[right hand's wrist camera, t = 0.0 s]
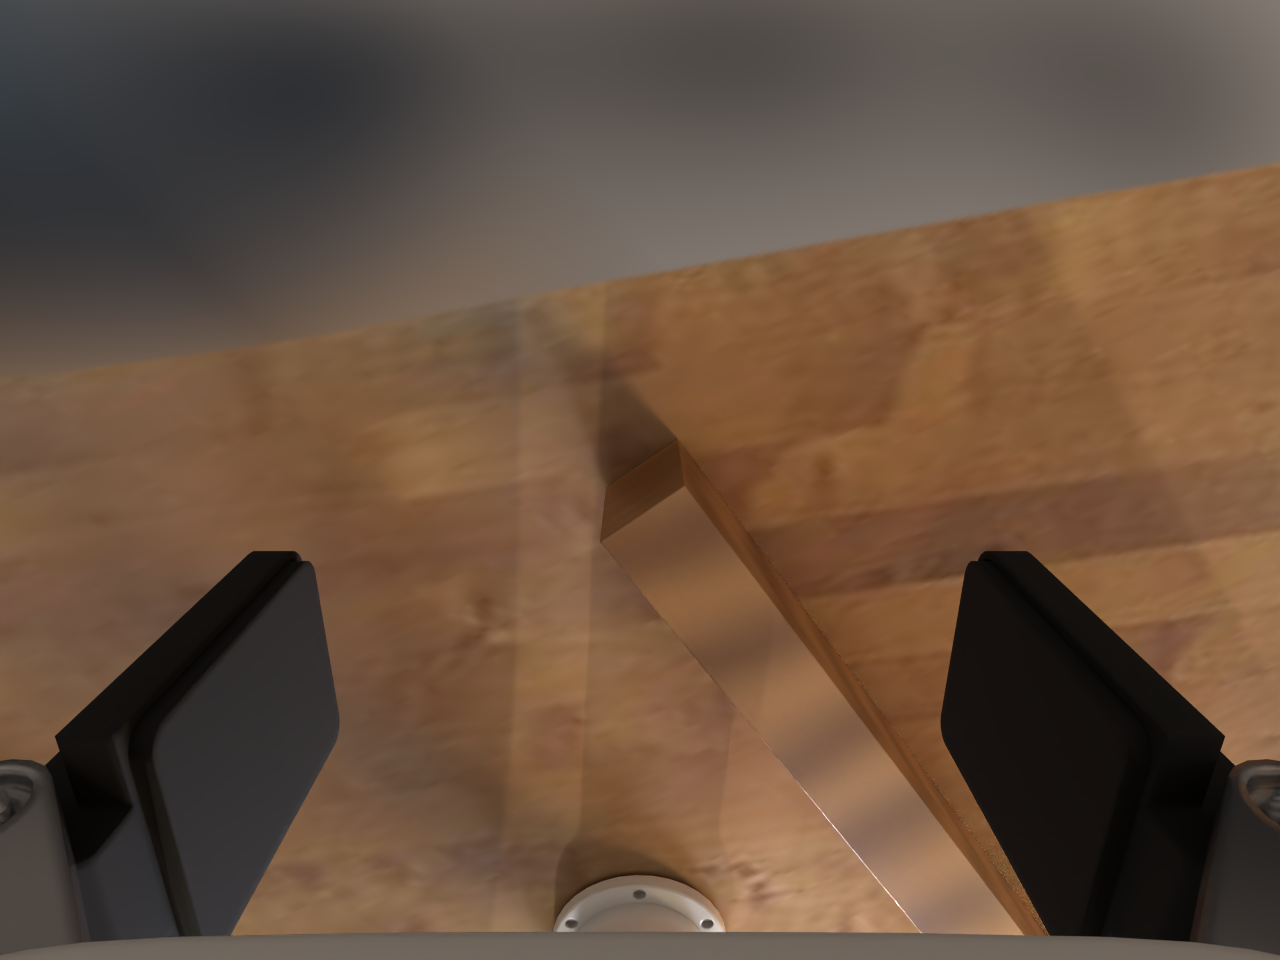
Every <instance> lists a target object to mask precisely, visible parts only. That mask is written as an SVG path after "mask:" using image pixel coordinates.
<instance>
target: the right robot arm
mask: <svg viewBox="0 0 1280 960" xmlns="http://www.w3.org/2000/svg"><path fill="white" fill-rule="evenodd" d="M338 731H339V713H338V707H337V701H336V695H335V689H334V683H333V677H332V671H331V665H330V659H329V653H328V647H327V641H326V635H325V629H324V623H323V617H322V611H321V605H320V599H319V593H318V588H317V582H316V576H315V571H314V567H313V565H312V563H310V562H309V561H302V559H301V557H300V555H299V554H298V553H297V552H295V551H253V552H251V553H250V554H248V555H247V556H246V557H245V558H244V559H243V560H242V561H241V562H240V563H239V564H238V565H237V566H236V567H234V568H233V569H232V570H231V571H230V572H229V573H228V574H227V575H226V576H225V577H224V578H223V579H222V580H221V581H220V582H219V583H217V584H216V585H215V586H214V587H213V588H212V589H211V590H210V591H209V592H208V593H207V594H206V595H205V596H204V597H203V598H201V599H200V600H199V601H198V602H197V603H196V604H195V605H194V606H193V607H192V608H191V609H190V610H189V611H188V612H187V613H186V614H184V615H183V616H182V617H181V618H180V619H179V620H178V621H177V622H176V623H175V624H174V625H173V626H172V627H171V628H170V629H168V630H167V631H166V632H165V633H164V634H163V635H162V636H161V637H160V638H159V639H158V640H157V641H156V642H155V643H154V644H153V645H151V646H150V647H149V648H148V649H147V650H146V651H145V652H144V653H143V654H142V655H141V656H140V657H139V658H138V659H137V660H136V661H134V662H133V663H132V664H131V665H130V666H129V667H128V668H127V669H126V670H125V671H124V672H123V673H122V674H121V675H120V676H118V677H117V678H116V679H115V680H114V681H113V682H112V683H111V684H110V685H109V686H108V687H107V688H106V689H105V690H104V691H103V692H101V693H100V694H99V695H98V696H97V697H96V698H95V699H94V700H93V701H92V702H91V703H90V704H89V705H88V706H87V707H85V708H84V709H83V710H82V711H81V712H80V713H79V714H78V715H77V716H76V717H75V718H74V719H73V720H72V721H71V722H70V723H68V724H67V725H66V726H65V727H64V728H63V729H62V730H61V731H60V732H59V733H58V734H57V735H56V736H55V738H56V741H57V744H58V747H59V750H60V752H59V753H58V754H57V755H55V756H54V757H53V758H52V759H51V760H50V761H49V762H48V763H47V764H46V765H45V766H44V765H42V764H39V763H37V762H34V761H32V760H16V759H11V760H4V761H0V960H1280V761H1276V760H1269V759H1264V760H1248V761H1246V762H1243V763H1241V764H1238V765H1236V766H1235V765H1234V764H1233V763H1232V762H1231V761H1230V760H1229V759H1228V758H1227V757H1226V756H1225V755H1223V754H1222V753H1221V752H1220V750H1221V747H1222V744H1223V741H1224V738H1225V736H1224V735H1223V734H1222V733H1221V732H1220V731H1219V730H1218V729H1217V728H1216V727H1215V726H1214V725H1213V724H1212V723H1210V722H1209V721H1208V720H1207V719H1206V718H1205V717H1204V716H1203V715H1202V714H1201V713H1200V712H1199V711H1198V710H1197V709H1196V708H1195V707H1193V706H1192V705H1191V704H1190V703H1189V702H1188V701H1187V700H1186V699H1185V698H1184V697H1183V696H1182V695H1181V694H1180V693H1179V692H1177V691H1176V690H1175V689H1174V688H1173V687H1172V686H1171V685H1170V684H1169V683H1168V682H1167V681H1166V680H1165V679H1164V678H1163V677H1162V676H1160V675H1159V674H1158V673H1157V672H1156V671H1155V670H1154V669H1153V668H1152V667H1151V666H1150V665H1149V664H1148V663H1147V662H1146V661H1144V660H1143V659H1142V658H1141V657H1140V656H1139V655H1138V654H1137V653H1136V652H1135V651H1134V650H1133V649H1132V648H1131V647H1130V646H1129V645H1127V644H1126V643H1125V642H1124V641H1123V640H1122V639H1121V638H1120V637H1119V636H1118V635H1117V634H1116V633H1115V632H1114V631H1113V630H1112V629H1110V628H1109V627H1108V626H1107V625H1106V624H1105V623H1104V622H1103V621H1102V620H1101V619H1100V618H1099V617H1098V616H1097V615H1096V614H1094V613H1093V612H1092V611H1091V610H1090V609H1089V608H1088V607H1087V606H1086V605H1085V604H1084V603H1083V602H1082V601H1081V600H1080V599H1079V598H1077V597H1076V596H1075V595H1074V594H1073V593H1072V592H1071V591H1070V590H1069V589H1068V588H1067V587H1066V586H1065V585H1064V584H1063V583H1061V582H1060V581H1059V580H1058V579H1057V578H1056V577H1055V576H1054V575H1053V574H1052V573H1051V572H1050V571H1049V570H1048V569H1047V568H1046V567H1044V566H1043V565H1042V564H1041V563H1040V562H1039V561H1038V560H1037V559H1036V558H1035V557H1034V556H1033V555H1032V554H1030V553H1029V552H1027V551H985V552H983V553H982V554H981V555H980V557H979V559H978V561H971V562H970V563H968V565H967V567H966V571H965V576H964V582H963V587H962V593H961V599H960V605H959V611H958V617H957V623H956V629H955V635H954V641H953V647H952V653H951V659H950V665H949V671H948V677H947V683H946V689H945V695H944V701H943V707H942V713H941V731H942V736H943V740H944V742H945V745H946V747H947V748H948V750H949V752H950V754H951V756H952V758H953V759H954V761H955V763H956V765H957V767H958V769H959V770H960V772H961V774H962V776H963V778H964V779H965V781H966V783H967V785H968V787H969V789H970V790H971V792H972V794H973V796H974V798H975V800H976V801H977V803H978V805H979V807H980V809H981V811H982V812H983V814H984V816H985V818H986V820H987V822H988V823H989V825H990V827H991V829H992V831H993V832H994V834H995V836H996V838H997V840H998V842H999V843H1000V845H1001V847H1002V849H1003V851H1004V853H1005V854H1006V856H1007V858H1008V860H1009V862H1010V864H1011V865H1012V867H1013V869H1014V871H1015V873H1016V875H1017V876H1018V878H1019V880H1020V882H1021V884H1022V885H1023V887H1024V889H1025V891H1026V893H1027V895H1028V896H1029V898H1030V900H1031V902H1032V904H1033V906H1034V907H1035V909H1036V911H1037V913H1038V915H1039V917H1040V918H1041V920H1042V922H1043V924H1044V926H1045V928H1046V929H1047V931H1048V933H1049V935H1050V936H1036V935H986V934H936V933H826V932H726V931H725V926H724V922H723V920H722V918H721V916H720V914H719V912H718V910H717V909H716V908H715V907H714V905H713V904H712V903H711V902H710V901H709V900H708V899H707V898H706V897H704V896H703V895H702V894H701V893H699V892H698V891H696V890H694V889H693V888H691V887H689V886H687V885H685V884H683V883H680V882H677V881H674V880H671V879H668V878H663V877H657V876H649V875H631V876H621V877H616V878H612V879H608V880H604V881H601V882H599V883H597V884H594V885H592V886H590V887H588V888H586V889H584V890H583V891H581V892H580V893H578V894H577V895H575V896H574V897H573V898H572V899H571V900H570V901H569V902H568V903H567V904H566V905H565V906H564V908H563V909H562V911H561V912H560V914H559V915H558V917H557V920H556V923H555V926H554V929H553V932H454V933H344V934H294V935H244V936H230V935H231V933H232V931H233V929H234V928H235V926H236V924H237V922H238V920H239V918H240V917H241V915H242V913H243V911H244V909H245V907H246V906H247V904H248V902H249V900H250V898H251V896H252V895H253V893H254V891H255V889H256V887H257V885H258V884H259V882H260V880H261V878H262V876H263V875H264V873H265V871H266V869H267V867H268V865H269V864H270V862H271V860H272V858H273V856H274V854H275V853H276V851H277V849H278V847H279V845H280V843H281V842H282V840H283V838H284V836H285V834H286V832H287V831H288V829H289V827H290V825H291V823H292V822H293V820H294V818H295V816H296V814H297V812H298V811H299V809H300V807H301V805H302V803H303V801H304V800H305V798H306V796H307V794H308V792H309V790H310V789H311V787H312V785H313V783H314V781H315V779H316V778H317V776H318V774H319V772H320V770H321V769H322V767H323V765H324V763H325V761H326V759H327V758H328V756H329V754H330V752H331V750H332V748H333V747H334V745H335V742H336V740H337V736H338Z"/></svg>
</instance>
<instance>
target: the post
mask: <svg viewBox="0 0 1280 960" xmlns="http://www.w3.org/2000/svg"><path fill="white" fill-rule="evenodd" d="M600 543H601V544H602V545H603V546H604V547H605V549H606V550H607V551H608V552H609V553H610V555H611V556H612V557H613V558H614V560H615V561H616V562H617V563H618V564H619V566H620V567H621V568H622V569H623V571H624V572H625V573H626V574H627V575H628V577H629V578H630V579H631V580H632V582H633V583H634V584H635V585H636V586H637V588H638V589H639V590H640V591H641V592H642V594H643V595H644V596H645V597H646V599H647V600H648V601H649V602H650V603H651V605H652V606H653V607H654V608H655V610H656V611H657V612H658V613H659V614H660V616H661V617H662V618H663V619H664V620H665V622H666V623H667V624H668V625H669V627H670V628H671V629H672V630H673V631H674V633H675V634H676V635H677V636H678V638H679V639H680V640H681V641H682V642H683V644H684V645H685V646H686V647H687V648H688V650H689V651H690V652H691V653H692V655H693V656H694V657H695V658H696V659H697V661H698V662H699V663H700V664H701V666H702V667H703V668H704V669H705V670H706V672H707V673H708V674H709V675H710V677H711V678H712V679H713V680H714V681H715V683H716V684H717V685H718V686H719V687H720V689H721V690H722V691H723V692H724V694H725V695H726V696H727V697H728V698H729V700H730V701H731V702H732V703H733V705H734V706H735V707H736V708H737V709H738V711H739V712H740V713H741V714H742V715H743V717H744V718H745V719H746V720H747V722H748V723H749V724H750V725H751V726H752V728H753V729H754V730H755V731H756V733H757V734H758V735H759V736H760V737H761V739H762V740H763V741H764V742H765V744H766V745H767V746H768V747H769V748H770V750H771V751H772V752H773V753H774V754H775V756H776V757H777V758H778V759H779V761H780V762H781V763H782V764H783V765H784V767H785V768H786V769H787V770H788V772H789V773H790V774H791V775H792V776H793V778H794V779H795V780H796V781H797V782H798V784H799V785H800V786H801V787H802V789H803V790H804V791H805V792H806V793H807V795H808V796H809V797H810V798H811V800H812V801H813V802H814V803H815V804H816V806H817V807H818V808H819V809H820V811H821V812H822V813H823V814H824V815H825V817H826V818H827V819H828V820H829V821H830V823H831V824H832V825H833V826H834V828H835V829H836V830H837V831H838V832H839V834H840V835H841V836H842V837H843V839H844V840H845V841H846V842H847V843H848V845H849V846H850V847H851V848H852V849H853V851H854V852H855V853H856V854H857V856H858V857H859V858H860V859H861V860H862V862H863V863H864V864H865V865H866V867H867V868H868V869H869V870H870V871H871V873H872V874H873V875H874V876H875V877H876V879H877V880H878V881H879V882H880V884H881V885H882V886H883V887H884V888H885V890H886V891H887V892H888V893H889V895H890V896H891V897H892V898H893V899H894V901H895V902H896V903H897V904H898V906H899V907H900V908H901V909H902V910H903V912H904V913H905V914H906V915H907V916H908V918H909V919H910V920H911V921H912V923H913V924H914V925H915V926H916V927H917V929H918V930H919V931H920V932H921V933H936V934H986V935H1036V936H1047V935H1046V934H1045V933H1044V931H1043V930H1042V929H1041V927H1040V926H1039V925H1038V923H1037V922H1036V921H1035V919H1034V918H1033V916H1032V915H1031V914H1030V912H1029V911H1028V910H1027V908H1026V907H1025V906H1024V904H1023V903H1022V902H1021V900H1020V899H1019V898H1018V896H1017V895H1016V894H1015V892H1014V891H1013V890H1012V888H1011V887H1010V886H1009V884H1008V883H1007V881H1006V880H1005V879H1004V877H1003V876H1002V875H1001V873H1000V872H999V871H998V869H997V868H996V867H995V865H994V864H993V863H992V861H991V860H990V859H989V857H988V856H987V855H986V853H985V852H984V850H983V849H982V848H981V846H980V845H979V844H978V842H977V841H976V840H975V838H974V837H973V836H972V834H971V833H970V832H969V830H968V829H967V828H966V826H965V825H964V824H963V822H962V821H961V820H960V818H959V817H958V815H957V814H956V813H955V811H954V810H953V809H952V807H951V806H950V805H949V803H948V802H947V801H946V799H945V798H944V797H943V795H942V794H941V793H940V791H939V790H938V789H937V787H936V786H935V784H934V783H933V782H932V780H931V779H930V778H929V776H928V775H927V774H926V772H925V771H924V770H923V768H922V767H921V766H920V764H919V763H918V762H917V760H916V759H915V758H914V756H913V755H912V754H911V752H910V751H909V749H908V748H907V747H906V745H905V744H904V743H903V741H902V740H901V739H900V737H899V736H898V735H897V733H896V732H895V731H894V729H893V728H892V727H891V725H890V724H889V723H888V721H887V720H886V719H885V717H884V716H883V714H882V713H881V712H880V710H879V709H878V708H877V706H876V705H875V704H874V702H873V701H872V700H871V698H870V697H869V696H868V694H867V693H866V692H865V690H864V689H863V688H862V686H861V685H860V683H859V682H858V681H857V679H856V678H855V677H854V675H853V674H852V673H851V671H850V670H849V669H848V667H847V666H846V665H845V663H844V662H843V661H842V659H841V658H840V657H839V655H838V654H837V653H836V651H835V650H834V648H833V647H832V646H831V644H830V643H829V642H828V640H827V639H826V638H825V636H824V635H823V634H822V632H821V631H820V630H819V628H818V627H817V626H816V624H815V623H814V622H813V620H812V619H811V617H810V616H809V615H808V613H807V612H806V611H805V609H804V608H803V607H802V605H801V604H800V603H799V601H798V600H797V599H796V597H795V596H794V595H793V593H792V592H791V591H790V589H789V588H788V587H787V585H786V584H785V582H784V581H783V580H782V578H781V577H780V576H779V574H778V573H777V572H776V570H775V569H774V568H773V566H772V565H771V564H770V562H769V561H768V560H767V558H766V557H765V556H764V554H763V553H762V551H761V550H760V549H759V547H758V546H757V545H756V543H755V542H754V541H753V539H752V538H751V537H750V535H749V534H748V533H747V531H746V530H745V529H744V527H743V526H742V525H741V523H740V522H739V521H738V519H737V518H736V516H735V515H734V514H733V512H732V511H731V510H730V508H729V507H728V506H727V504H726V503H725V502H724V500H723V499H722V498H721V496H720V495H719V494H718V492H717V491H716V490H715V488H714V487H713V486H712V484H711V483H710V481H709V480H708V479H707V477H706V476H705V475H704V473H703V472H702V471H701V469H700V468H699V467H698V465H697V464H696V463H695V461H694V460H693V459H692V457H691V456H690V455H689V453H688V452H687V450H686V449H685V448H684V446H683V445H682V444H681V442H680V441H679V440H678V439H676V440H675V441H673V442H672V443H670V444H669V445H667V446H666V447H664V448H663V449H661V450H660V451H658V452H657V453H656V454H654V455H653V456H651V457H650V458H648V459H647V460H645V461H644V462H642V463H641V464H639V465H638V466H636V467H635V468H634V469H632V470H631V471H629V472H628V473H626V474H625V475H623V476H622V477H620V478H619V479H617V480H616V481H615V482H613V483H612V484H610V485H609V486H607V487H606V494H605V502H604V511H603V520H602V529H601V538H600Z"/></svg>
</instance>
